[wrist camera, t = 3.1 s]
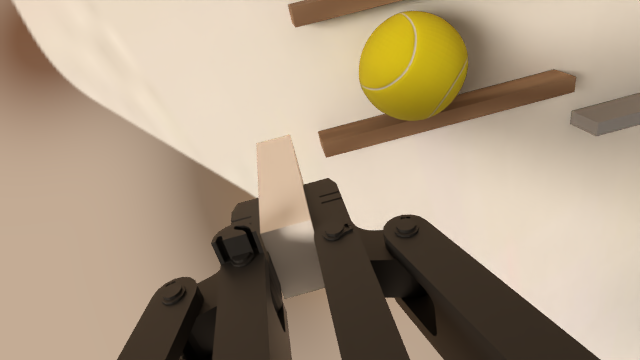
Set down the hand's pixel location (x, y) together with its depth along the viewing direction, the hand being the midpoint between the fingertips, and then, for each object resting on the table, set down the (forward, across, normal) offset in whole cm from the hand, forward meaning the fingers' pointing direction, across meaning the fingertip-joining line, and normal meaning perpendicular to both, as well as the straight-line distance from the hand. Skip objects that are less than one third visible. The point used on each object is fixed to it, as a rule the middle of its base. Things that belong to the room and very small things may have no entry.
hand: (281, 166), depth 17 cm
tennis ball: (+14, -10, 0) cm, 17 cm away
